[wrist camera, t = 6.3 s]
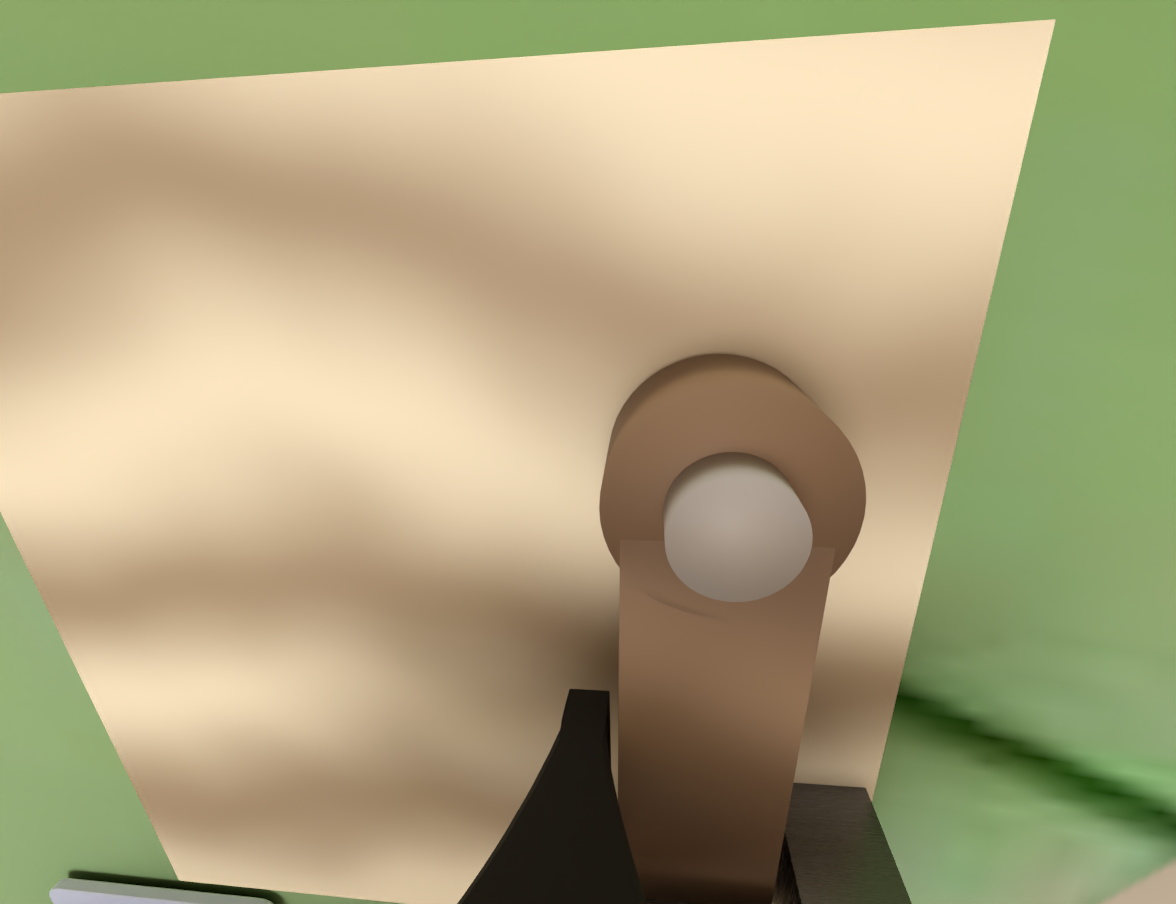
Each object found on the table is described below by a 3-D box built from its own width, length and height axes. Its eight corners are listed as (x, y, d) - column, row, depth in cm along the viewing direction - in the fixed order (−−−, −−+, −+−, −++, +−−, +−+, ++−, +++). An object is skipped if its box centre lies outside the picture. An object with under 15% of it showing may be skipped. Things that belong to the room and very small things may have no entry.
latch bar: (608, 353, 9) (592, 401, 6) (837, 354, 8) (920, 406, 6) (608, 898, 14) (600, 1046, 12) (749, 913, 14) (773, 1069, 11)
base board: (825, 904, 15) (837, 947, 14) (204, 845, 17) (179, 880, 16) (1007, 44, 8) (1055, 19, 7) (-117, 119, 10) (-196, 107, 9)
